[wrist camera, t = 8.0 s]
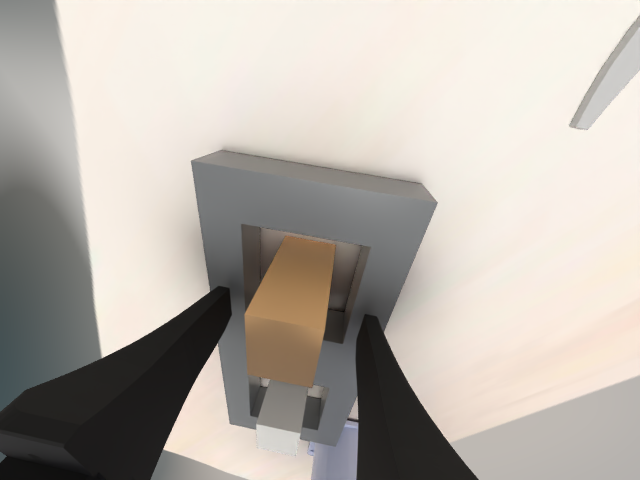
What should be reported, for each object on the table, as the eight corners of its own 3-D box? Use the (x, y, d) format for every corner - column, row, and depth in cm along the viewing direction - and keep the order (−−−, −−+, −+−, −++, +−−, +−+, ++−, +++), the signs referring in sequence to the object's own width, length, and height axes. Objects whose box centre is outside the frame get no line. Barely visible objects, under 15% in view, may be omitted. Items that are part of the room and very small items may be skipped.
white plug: (307, 386, 22) (295, 456, 17) (276, 380, 22) (256, 447, 18) (312, 361, 20) (300, 433, 15) (277, 354, 20) (256, 424, 15)
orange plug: (326, 294, 16) (311, 387, 10) (282, 286, 16) (247, 374, 11) (335, 244, 14) (324, 330, 8) (285, 235, 14) (244, 314, 9)
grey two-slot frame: (337, 415, 24) (335, 446, 21) (241, 395, 24) (229, 424, 22) (421, 183, 11) (437, 202, 9) (221, 150, 12) (190, 160, 10)
